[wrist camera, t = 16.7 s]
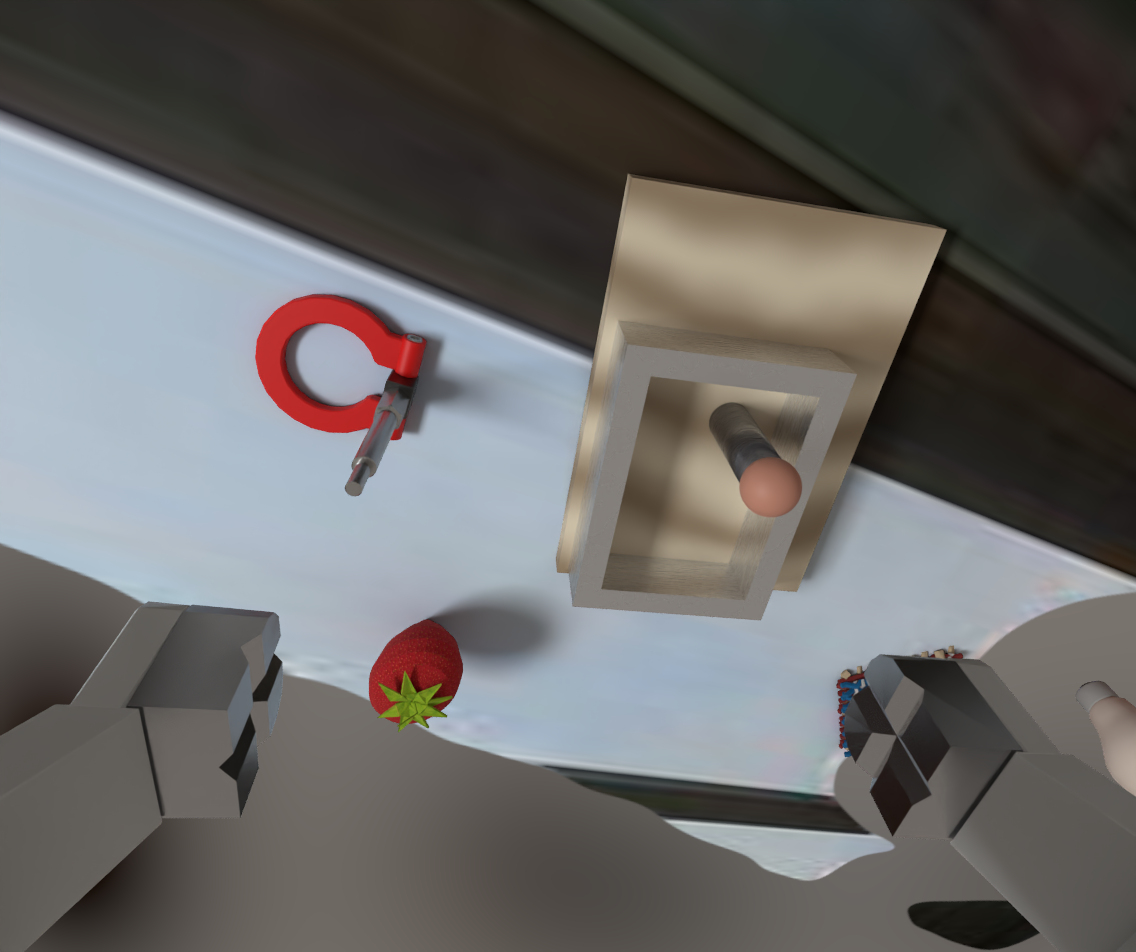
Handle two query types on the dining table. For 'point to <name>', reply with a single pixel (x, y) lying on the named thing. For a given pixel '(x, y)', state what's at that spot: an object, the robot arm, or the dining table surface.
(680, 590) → the steel link
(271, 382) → the tow hook
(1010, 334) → the dining table surface
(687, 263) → the board
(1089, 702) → the light bulb
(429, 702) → the strawberry
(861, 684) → the woven mat
